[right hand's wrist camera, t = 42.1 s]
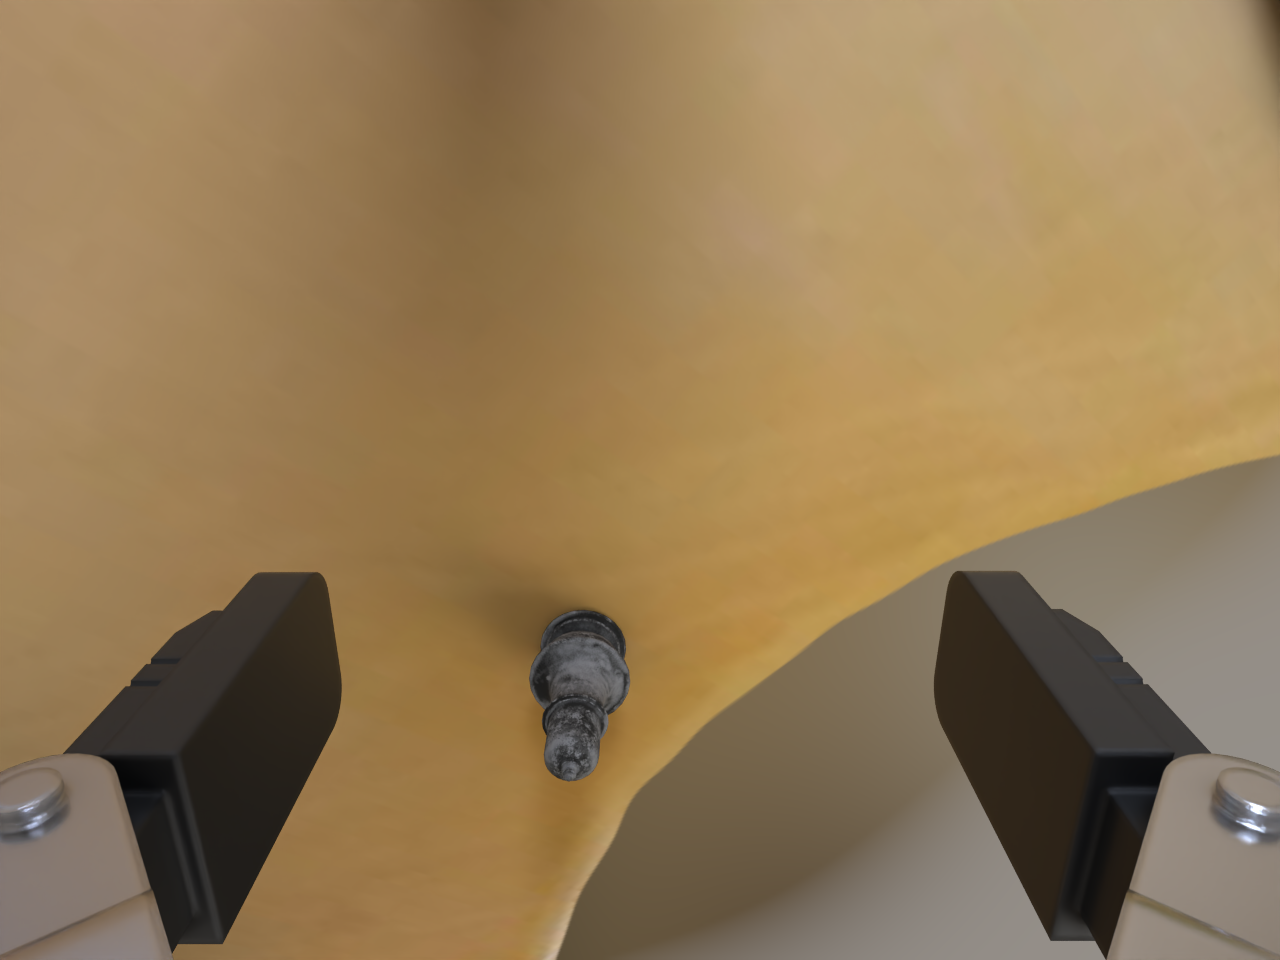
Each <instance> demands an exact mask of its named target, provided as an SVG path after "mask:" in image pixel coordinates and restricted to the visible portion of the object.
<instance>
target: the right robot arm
mask: <svg viewBox="0 0 1280 960" xmlns="http://www.w3.org/2000/svg"><path fill="white" fill-rule="evenodd" d="M341 690H342V684H341V673H340V666H339V659H338V653H337V646H336V639H335V633H334V626H333V619H332V613H331V606H330V599H329V593H328V588H327V584H326V582H325V579H324V577H323V576H322V575H321V574H320V573H318V572H260V573H257V574H255V575H254V576H253V577H252V578H251V579H250V580H249V581H248V583H247V584H246V585H245V586H244V587H243V588H242V589H241V591H240V592H239V593H238V594H237V595H236V596H235V597H234V599H233V600H232V601H231V602H230V603H229V604H228V606H227V607H226V608H225V609H224V610H223V611H211V612H210V613H208V614H206V615H205V616H203V617H201V618H200V619H198V620H196V621H194V622H193V623H191V624H189V625H188V626H186V627H184V628H183V629H181V630H179V631H178V632H176V633H175V634H174V635H173V636H172V637H171V638H170V639H169V640H168V641H167V642H166V643H165V645H164V646H163V647H162V648H161V649H160V650H159V651H158V652H157V653H156V654H155V655H154V656H153V657H152V659H151V664H146V665H145V666H144V667H143V668H142V669H141V670H140V671H139V673H138V674H137V675H136V676H135V677H134V678H133V679H132V680H131V685H130V686H126V687H125V688H124V689H123V690H122V691H121V692H120V693H119V694H118V695H117V696H116V697H115V698H114V699H113V701H112V702H111V703H110V704H109V705H108V706H107V707H106V708H105V709H104V710H103V711H102V712H101V713H100V715H99V716H98V717H97V718H96V719H95V720H94V721H93V722H92V723H91V724H90V725H89V726H88V727H87V729H86V730H85V731H84V732H83V733H82V734H81V735H80V736H79V737H78V738H77V739H76V740H75V741H74V743H73V744H72V745H71V746H70V747H69V748H68V749H67V750H66V751H65V752H64V753H63V754H60V755H52V756H48V757H43V758H38V759H35V760H31V761H28V762H25V763H22V764H19V765H16V766H14V767H11V768H9V769H6V770H4V771H2V772H0V960H173V956H172V953H173V951H174V949H175V948H176V946H177V944H223V942H224V940H225V938H226V936H227V934H228V932H229V931H230V929H231V927H232V925H233V923H234V921H235V919H236V917H237V915H238V913H239V911H240V909H241V907H242V905H243V903H244V901H245V899H246V897H247V896H248V894H249V892H250V890H251V888H252V886H253V884H254V882H255V880H256V878H257V876H258V874H259V872H260V870H261V868H262V866H263V864H264V862H265V861H266V859H267V857H268V855H269V853H270V851H271V849H272V847H273V845H274V843H275V841H276V839H277V837H278V835H279V833H280V831H281V829H282V827H283V826H284V824H285V822H286V820H287V818H288V816H289V814H290V812H291V810H292V808H293V806H294V804H295V802H296V800H297V798H298V796H299V794H300V792H301V791H302V789H303V787H304V785H305V783H306V781H307V779H308V777H309V775H310V773H311V771H312V769H313V767H314V765H315V763H316V761H317V759H318V758H319V756H320V754H321V752H322V750H323V748H324V746H325V744H326V742H327V740H328V738H329V736H330V734H331V732H332V730H333V728H334V726H335V724H336V721H337V718H338V714H339V709H340V703H341ZM934 697H935V705H936V710H937V714H938V718H939V721H940V723H941V726H942V728H943V730H944V732H945V734H946V736H947V738H948V740H949V742H950V744H951V745H952V747H953V749H954V751H955V753H956V755H957V757H958V759H959V761H960V763H961V765H962V767H963V769H964V771H965V773H966V775H967V777H968V779H969V781H970V783H971V785H972V787H973V789H974V791H975V793H976V795H977V797H978V799H979V801H980V802H981V805H982V807H983V808H984V810H985V812H986V814H987V816H988V818H989V820H990V822H991V824H992V826H993V828H994V830H995V832H996V834H997V836H998V838H999V840H1000V842H1001V844H1002V846H1003V848H1004V850H1005V852H1006V854H1007V856H1008V858H1009V860H1010V862H1011V864H1012V866H1013V867H1014V869H1015V871H1016V873H1017V875H1018V877H1019V879H1020V881H1021V883H1022V885H1023V887H1024V889H1025V891H1026V893H1027V895H1028V897H1029V899H1030V901H1031V903H1032V905H1033V907H1034V909H1035V911H1036V913H1037V915H1038V917H1039V919H1040V921H1041V923H1042V925H1043V927H1044V929H1045V930H1046V932H1047V934H1048V936H1049V938H1050V940H1051V941H1096V943H1097V945H1098V947H1099V948H1100V950H1101V952H1102V954H1103V955H1104V957H1105V959H1106V960H1280V772H1278V771H1276V770H1274V769H1271V768H1269V767H1266V766H1264V765H1261V764H1258V763H1255V762H1252V761H1249V760H1245V759H1242V758H1237V757H1232V756H1228V755H1220V754H1211V752H1210V751H1209V750H1208V749H1207V748H1206V747H1205V746H1204V745H1203V744H1202V743H1201V742H1200V740H1199V739H1198V738H1197V737H1196V736H1195V735H1194V734H1193V733H1192V732H1191V731H1190V730H1189V729H1188V727H1187V726H1186V725H1185V724H1184V723H1183V722H1182V721H1181V720H1180V719H1179V718H1178V717H1177V716H1176V714H1175V713H1174V712H1173V711H1172V710H1171V709H1170V708H1169V707H1168V706H1167V705H1166V704H1165V702H1164V701H1163V700H1162V699H1161V698H1160V697H1159V696H1158V695H1157V694H1156V693H1155V692H1154V690H1153V689H1152V688H1151V687H1150V686H1149V685H1148V684H1143V679H1142V677H1141V676H1140V675H1139V674H1138V673H1137V672H1136V671H1135V670H1134V669H1133V668H1132V667H1131V666H1130V664H1129V663H1128V662H1123V657H1122V656H1121V655H1120V654H1119V652H1118V651H1117V650H1116V649H1115V648H1114V647H1113V646H1112V645H1111V644H1110V643H1109V642H1108V641H1107V639H1106V638H1105V637H1104V636H1103V635H1102V634H1101V633H1100V632H1099V631H1098V630H1096V629H1094V628H1093V627H1091V626H1089V625H1088V624H1086V623H1084V622H1083V621H1081V620H1079V619H1078V618H1076V617H1074V616H1073V615H1071V614H1069V613H1068V612H1066V611H1064V610H1063V609H1051V608H1050V607H1049V606H1048V605H1047V604H1046V602H1045V601H1044V600H1043V599H1042V598H1041V597H1040V595H1039V594H1038V593H1037V592H1036V591H1035V590H1034V588H1033V587H1032V586H1031V585H1030V584H1029V583H1028V581H1027V580H1026V579H1025V578H1024V577H1023V576H1022V575H1021V574H1020V573H1019V572H1017V571H957V572H955V573H954V574H953V575H952V577H951V578H950V581H949V584H948V588H947V593H946V600H945V607H944V614H943V620H942V627H941V634H940V641H939V647H938V654H937V661H936V668H935V675H934Z"/></svg>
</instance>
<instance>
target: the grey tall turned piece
mask: <svg viewBox="0 0 1280 960" xmlns="http://www.w3.org/2000/svg"><path fill="white" fill-rule="evenodd" d="M625 652H626V645H625V639H624V636H623V634H622V631H621V630H620V629H619V627H618V626H617V625H616V624H615V622H613V621H612V620H611V619H609V618H608V617H606V616H604V615H602V614H600V613H597V612H593V611H587V610H580V611H572V612H568V613H565V614H562V615H561V616H559V617H557V618H556V619H554V620H553V621H552V622H551V623H550V624H549V625H548V626H547V628H546V630H545V632H544V634H543V636H542V641H541V652H540V653H539V654H538V655H537V656H536V658H535V660H534V662H533V664H532V666H531V671H530V677H529V680H530V687H531V691H532V693H533V695H534V697H535V699H536V700H537V702H538V703H539V704H540V705H541V706H542V707H543V708H544V709H545V711H544V713H543V718H542V725H543V729H544V731H545V733H546V735H547V738H546V744H545V751H544V759H545V764H546V767H547V769H548V770H549V771H550V772H551V773H552V774H553V775H554V776H556V777H557V778H559V779H562V780H566V781H576V780H579V779H582V778H584V777H586V776H588V775H589V774H590V773H591V772H592V771H593V770H594V769H595V767H596V765H597V763H598V759H599V749H600V739H601V738H602V737H603V736H604V734H605V732H606V731H607V727H608V715H609V714H611V713H612V712H614V711H615V710H616V709H617V708H618V707H619V706H620V705H621V704H622V703H623V701H624V699H625V698H626V696H627V694H628V690H629V685H630V676H629V670H628V667H627V665H626V663H625V660H624V657H625Z"/></svg>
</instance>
